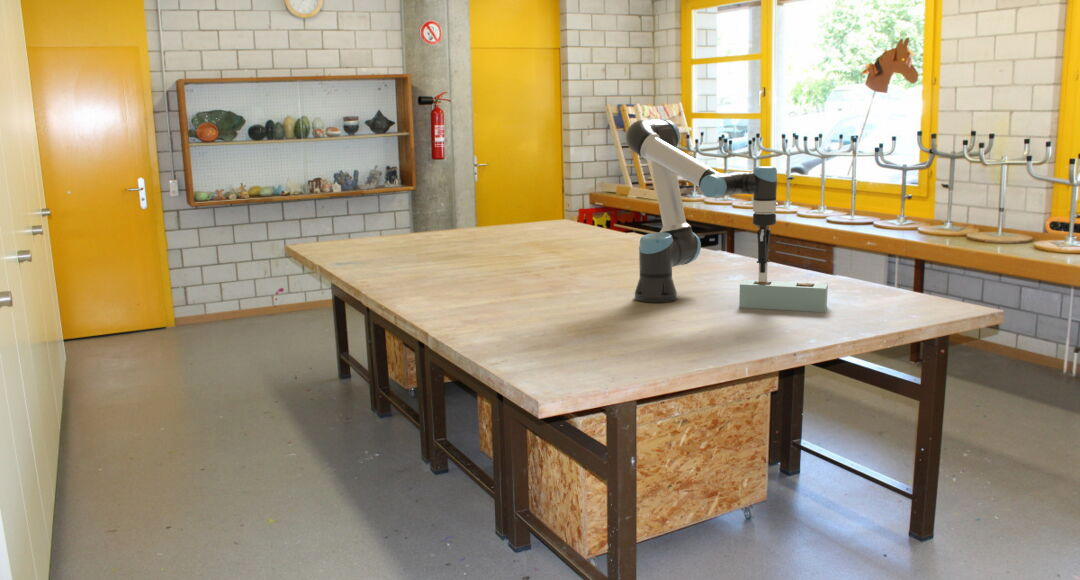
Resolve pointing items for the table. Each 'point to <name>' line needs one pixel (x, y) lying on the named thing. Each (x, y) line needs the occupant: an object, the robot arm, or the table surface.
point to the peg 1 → (763, 283)
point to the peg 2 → (805, 284)
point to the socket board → (783, 296)
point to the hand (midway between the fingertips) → (762, 281)
